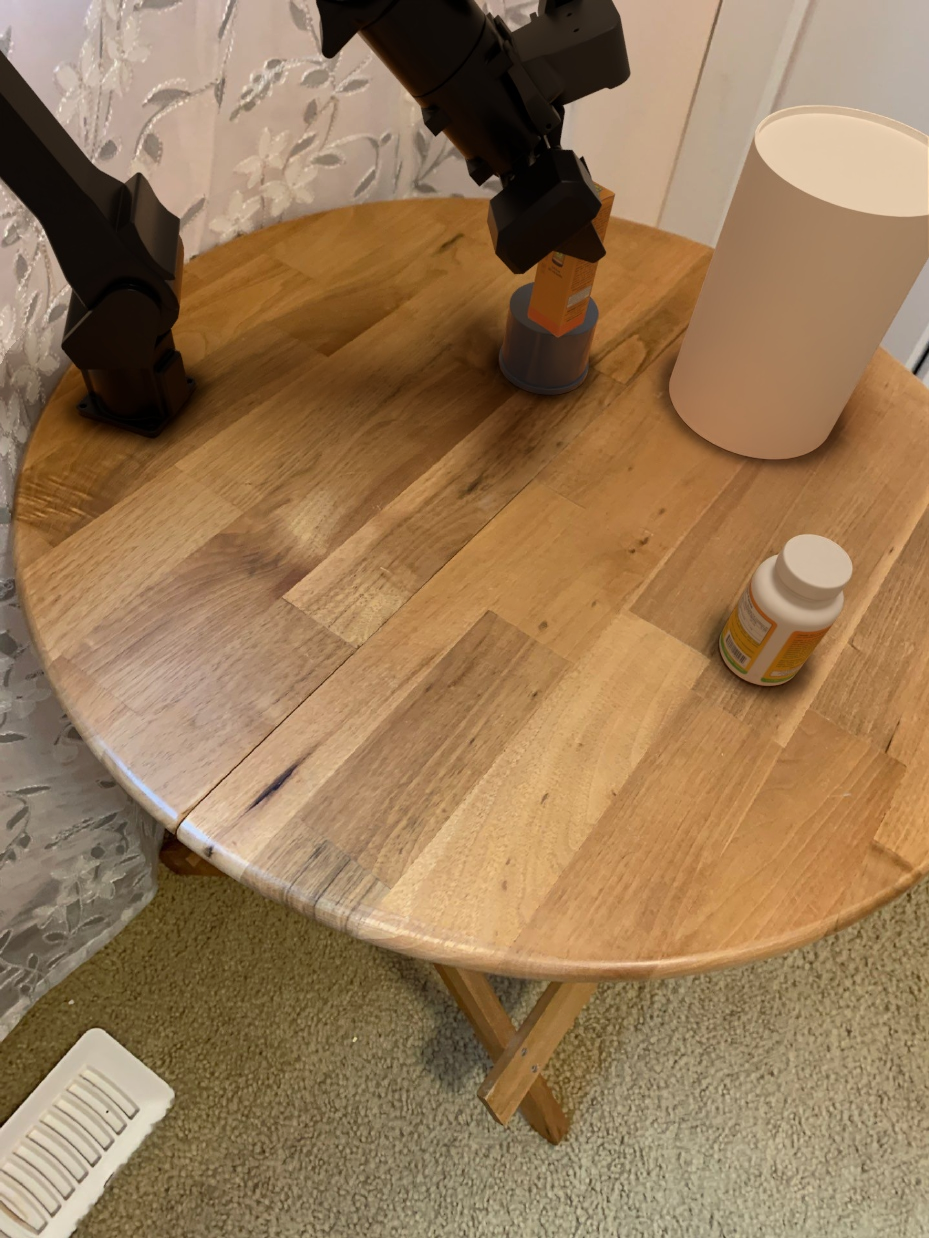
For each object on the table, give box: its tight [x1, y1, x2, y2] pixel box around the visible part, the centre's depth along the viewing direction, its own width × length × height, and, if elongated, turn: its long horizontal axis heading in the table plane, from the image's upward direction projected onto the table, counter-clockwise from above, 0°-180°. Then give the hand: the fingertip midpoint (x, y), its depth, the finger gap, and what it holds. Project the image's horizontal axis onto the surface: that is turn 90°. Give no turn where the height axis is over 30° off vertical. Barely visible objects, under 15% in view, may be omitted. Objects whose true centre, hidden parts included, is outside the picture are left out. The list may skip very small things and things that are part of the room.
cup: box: [498, 281, 600, 396], centre depth 71 cm, size 8×7×6 cm
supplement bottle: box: [718, 533, 854, 687], centre depth 54 cm, size 5×5×10 cm
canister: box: [668, 104, 929, 460], centre depth 65 cm, size 14×14×20 cm
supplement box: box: [527, 180, 616, 337], centre depth 62 cm, size 3×3×10 cm
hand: (592, 238), depth 61 cm, fingers closed on supplement box, 4 cm apart
